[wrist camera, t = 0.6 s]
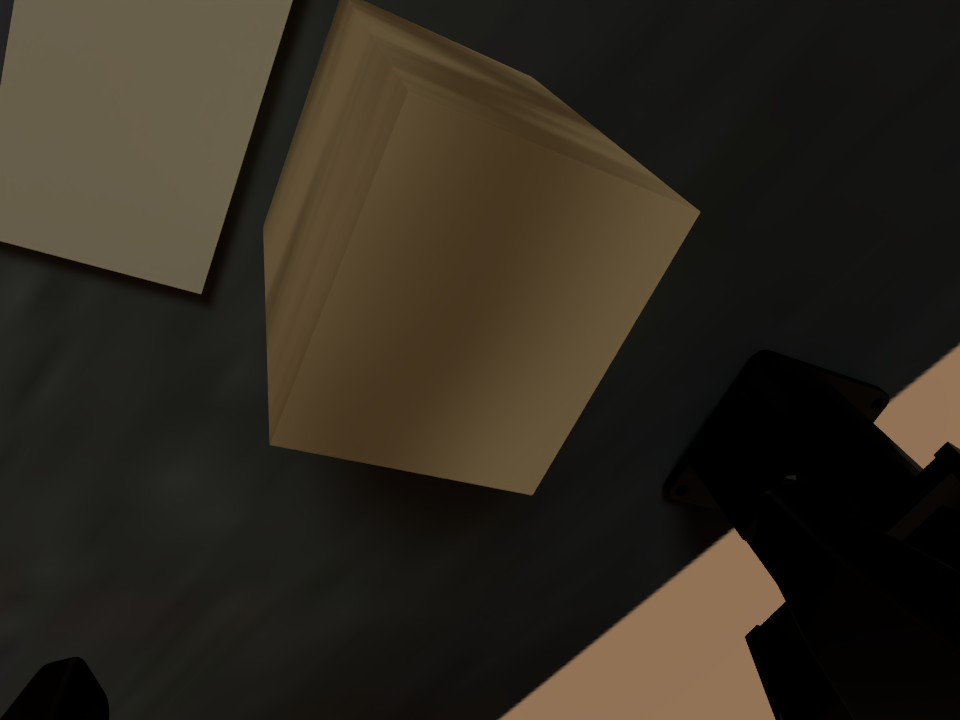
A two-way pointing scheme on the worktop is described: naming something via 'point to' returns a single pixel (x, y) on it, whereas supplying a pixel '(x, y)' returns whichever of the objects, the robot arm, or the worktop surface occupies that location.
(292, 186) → the wooden block
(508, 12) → the worktop surface
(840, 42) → the worktop surface
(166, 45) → the mat
